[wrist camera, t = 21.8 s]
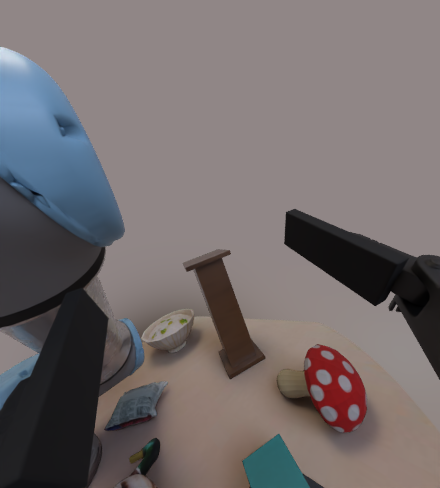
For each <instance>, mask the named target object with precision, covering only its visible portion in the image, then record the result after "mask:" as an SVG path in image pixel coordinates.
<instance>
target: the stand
mask: <svg viewBox="0 0 440 488" xmlns="http://www.w3.org/2000/svg"><path fill="white" fill-rule="evenodd" d="M230 254H231V253H230V250H215V251H213V252H210V253H207V254H205V255H202V256H200V257H197V258H195V259H192V260H190V261H187V262H184V263H183V265H184V267H185V269H186V271H190V270H194V273H195V276H196V278H197V281H198V283H199V286H200V289H201V291H202V294H203V297H204V299H205V302H206V305H207V307H208V310H209V313H210V315H211V318H212V321H213V323H214V326H215V329H216V331H217V334H218V337H219V339H220V342H221V344H222V347H223V349H222V350H221V351H219V355H220V357H221V359H222V362H223V364H224V366H225V369H226V371H227V373H228V376H229V378H230V379H231V378H233V377H235V376H236V375H238V374H240V373H241V372H243V371H245V370H246V369H248V368H250V367H251V366H253V365H255V364H256V363H258V362H260V361H261V360H263V359H265V356H264V354H263V353H262V352H261V351H260V349H259V348H258V347H257V346H256V345H255V343H254V342H253V341H252V340H251V338H250V335H249V333H248V330H247V327H246V324H245V321H244V319H243V316H242V313H241V310H240V308H239V305H238V302H237V299H236V297H235V294H234V291H233V288H232V285H231V283H230V280H229V277H228V274H227V272H226V269H225V266H224V263H223V260H222V258H223V257H225V256H227V255H230Z"/></svg>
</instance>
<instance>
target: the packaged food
mask: <svg viewBox="0 0 440 488" xmlns="http://www.w3.org/2000/svg"><path fill="white" fill-rule="evenodd" d="M167 384H168V382H164V381H163V382H160V383H155V382H154V383H151V384H149V385H146V386H141V387H139V388H136V389H132V390H130V391H128V392H127V393H126V392H124V395H123V396H122V397H120V399H119V401H118V403H117V406H116V408H115V410H114V412H113V414H112V417H111V419H110V421H109V423H108V424H107V426H106V428H105V430H106V431H109V430H118V429H121V428H124V427H126V426H129V425H132V424H137V423H141V422H145V421H148V420H150V419H151V418H152V417H155V416H157V413H156V410H155V406H156V403H157V401H158V399H159V397H160V395H161V393H162V391H163V390H164V387H165V386H166V385H167Z"/></svg>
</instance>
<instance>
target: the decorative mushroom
mask: <svg viewBox="0 0 440 488" xmlns="http://www.w3.org/2000/svg"><path fill="white" fill-rule="evenodd" d="M277 385H278V388H279V390H280V391H281V392H282V393H283V394H284V395H285V396H286V397H287V398H299V397H303V396H310V397H311V399H312V402H313V404H314V406H315V408H316V409H317V411H318V412H319V414H320V415H321V416H322V418H323V419H324V421H325V422H326V423H327V424H329V425H330V426H331V427H333V428H334V429H335V430H337V431H339V432H341V433H344V432H351V431H354V430H356V429H357V427H358V426H359V425H360V424H361V423H362V421H363V419H364V417H365V414H366V410H367V398H366V392H365V388H364V385H363V382H362V380H361V378H360V376H359V374H358V373H357V371H356V370H355V368H354V367H353V366H352V364H351V363H350V362H349V361H348V360H347V359H346V358H345V357H344V356H342V355H341V354H340V353H339V352H338V351H336V350H334V349H332V348H330V347H327V346H323V345H319V344H317V345H315V346H313V347H312V348H310V349H309V350H308V352H307V354H306V357H305V361H304V371H295V370H290V369H285V370H282V371H281V372H280V373H279V374H278V376H277Z"/></svg>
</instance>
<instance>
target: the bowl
mask: <svg viewBox="0 0 440 488" xmlns="http://www.w3.org/2000/svg"><path fill="white" fill-rule="evenodd" d="M193 320H194V313H193V310H192V309H182V310H177V311H174V312H172V313H170V314H168V315H165V316H164V317H162V318H160V319H159V320H157V321H156V322H154V323H153V324H151V326H150V327H148V328H147V329H146V330H145V331H144V333H143V336H142V340H143V341H144V342H146V343H147V344H149V345H150V346H152V347H154V348H157V349H161V350H168V352H170V353H173V352H177V351H179V350H180V349H182V348H183V347H184V346H185V344H186V343H187V340H186V338H187V337H188V335H189V333H190V331H191V328H192V325H193Z"/></svg>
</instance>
